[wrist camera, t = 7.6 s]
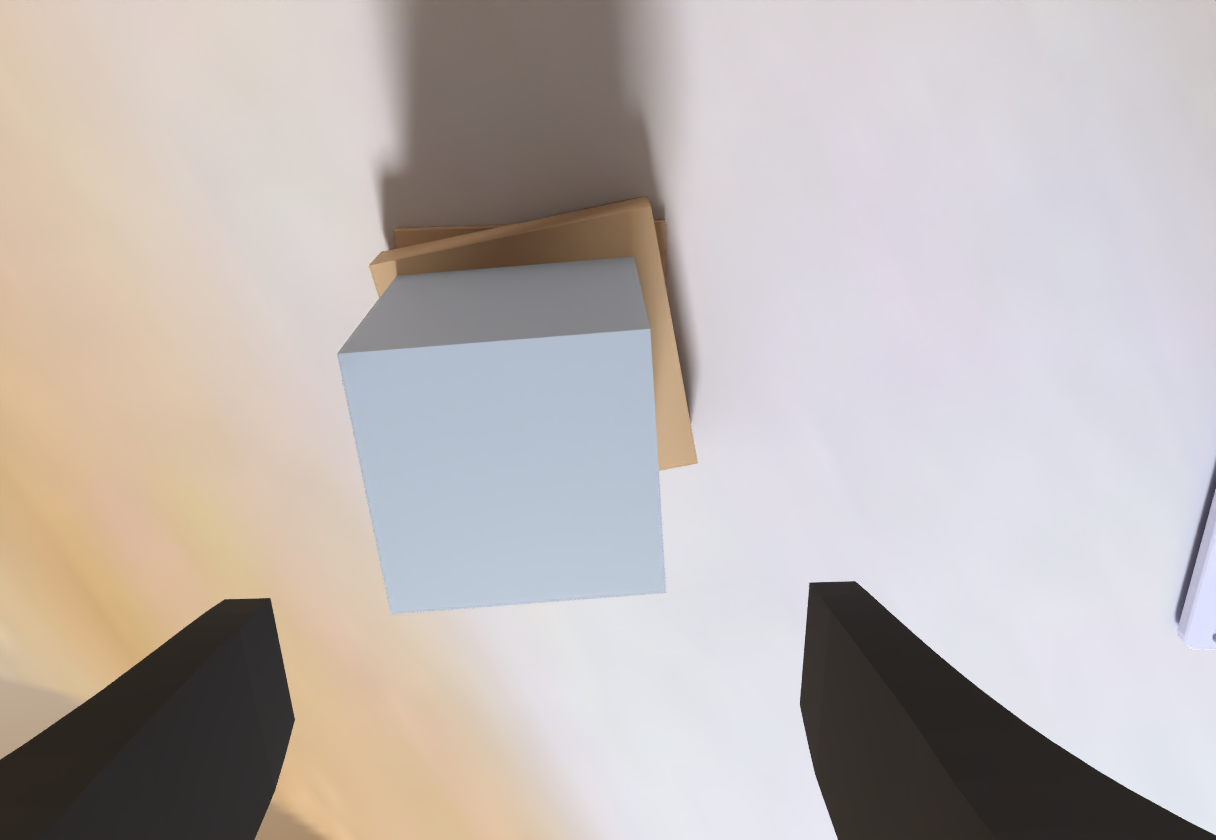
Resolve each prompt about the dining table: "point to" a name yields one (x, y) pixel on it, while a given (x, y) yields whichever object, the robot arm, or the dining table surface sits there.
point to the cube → (509, 435)
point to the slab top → (565, 241)
